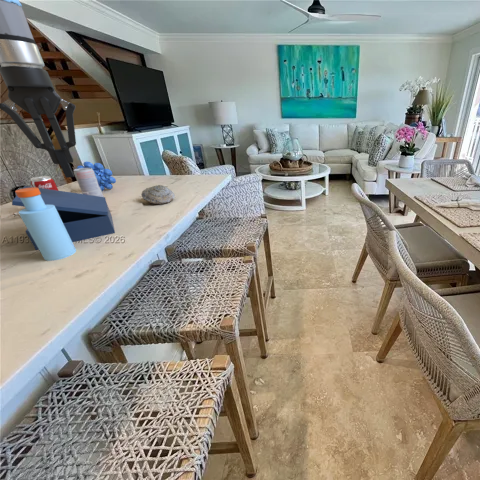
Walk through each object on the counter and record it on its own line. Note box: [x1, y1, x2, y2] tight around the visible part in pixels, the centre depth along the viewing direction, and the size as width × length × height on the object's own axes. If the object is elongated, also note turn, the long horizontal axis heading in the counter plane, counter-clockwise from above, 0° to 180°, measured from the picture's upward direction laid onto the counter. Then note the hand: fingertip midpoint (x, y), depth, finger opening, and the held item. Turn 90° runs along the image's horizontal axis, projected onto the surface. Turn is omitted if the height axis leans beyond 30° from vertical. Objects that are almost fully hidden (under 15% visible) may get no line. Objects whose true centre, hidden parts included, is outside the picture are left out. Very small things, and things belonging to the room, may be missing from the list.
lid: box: [11, 185, 108, 215], centre depth 69 cm, size 16×16×1 cm
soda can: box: [30, 175, 60, 191], centre depth 83 cm, size 5×5×12 cm
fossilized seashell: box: [141, 184, 176, 205], centre depth 97 cm, size 11×11×7 cm
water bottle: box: [14, 186, 77, 262], centre depth 58 cm, size 6×6×16 cm
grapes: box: [76, 161, 117, 192], centre depth 106 cm, size 12×7×12 cm, turn 119°
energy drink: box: [73, 168, 105, 197], centre depth 94 cm, size 5×5×12 cm
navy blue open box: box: [25, 202, 116, 251], centre depth 72 cm, size 16×16×6 cm
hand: (70, 176), depth 68 cm, fingers closed
